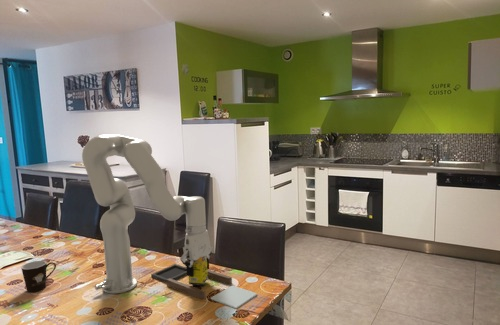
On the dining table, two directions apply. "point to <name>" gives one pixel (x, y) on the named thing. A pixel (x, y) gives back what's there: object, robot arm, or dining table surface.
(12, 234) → the dining table surface
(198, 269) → the supplement box
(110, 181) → the robot arm
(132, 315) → the dining table surface
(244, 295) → the pad
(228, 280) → the wooden bars
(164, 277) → the tray
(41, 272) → the coffee mug
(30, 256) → the dining table surface
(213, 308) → the dining table surface
